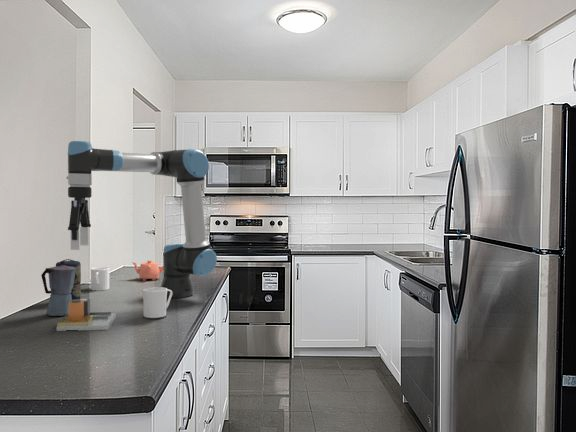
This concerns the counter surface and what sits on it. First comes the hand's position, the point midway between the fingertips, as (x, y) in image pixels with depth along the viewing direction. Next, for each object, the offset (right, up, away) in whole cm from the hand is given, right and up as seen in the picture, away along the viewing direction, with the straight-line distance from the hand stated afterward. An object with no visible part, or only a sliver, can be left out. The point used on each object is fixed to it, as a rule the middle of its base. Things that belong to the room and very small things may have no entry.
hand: (79, 247), depth 177 cm
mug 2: (+24, -27, +13) cm, 38 cm away
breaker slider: (-1, -25, +4) cm, 25 cm away
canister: (-18, -25, +33) cm, 45 cm away
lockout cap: (0, -25, -4) cm, 25 cm away
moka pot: (-13, -26, +12) cm, 31 cm away
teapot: (-1, -23, +90) cm, 93 cm away
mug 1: (-16, -24, +60) cm, 67 cm away
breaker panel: (+3, -27, 0) cm, 27 cm away
